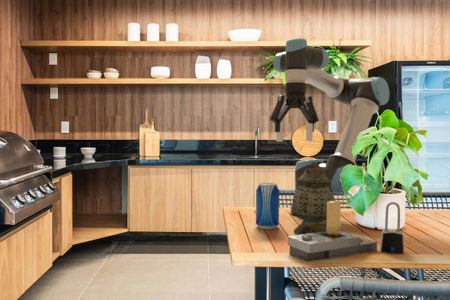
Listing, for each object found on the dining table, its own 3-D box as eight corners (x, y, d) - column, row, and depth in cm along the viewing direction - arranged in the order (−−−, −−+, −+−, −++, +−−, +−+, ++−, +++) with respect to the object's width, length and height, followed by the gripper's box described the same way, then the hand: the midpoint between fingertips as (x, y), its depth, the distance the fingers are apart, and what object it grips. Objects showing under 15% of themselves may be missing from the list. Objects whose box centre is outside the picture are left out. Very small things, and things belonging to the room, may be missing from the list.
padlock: (402, 250, 138) (404, 201, 137) (404, 254, 134) (406, 203, 133) (379, 248, 140) (380, 200, 139) (380, 252, 136) (381, 202, 135)
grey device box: (352, 242, 147) (353, 224, 147) (376, 250, 138) (377, 231, 138) (287, 253, 134) (287, 233, 134) (309, 262, 126) (309, 241, 125)
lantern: (340, 232, 160) (342, 161, 159) (321, 240, 149) (322, 164, 148) (305, 226, 169) (307, 159, 168) (284, 233, 159) (285, 161, 157)
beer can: (277, 230, 163) (278, 185, 162) (254, 229, 165) (254, 185, 164) (279, 225, 171) (280, 183, 171) (257, 224, 173) (257, 182, 172)
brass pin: (333, 249, 139) (334, 200, 138) (342, 252, 135) (343, 202, 135) (323, 251, 137) (324, 201, 136) (332, 254, 134) (333, 203, 133)
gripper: (315, 84, 174) (314, 140, 175) (260, 81, 162) (260, 141, 163) (329, 83, 168) (327, 141, 169) (273, 79, 155) (272, 142, 157)
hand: (294, 141), depth 166 cm, fingers open, 13 cm apart
